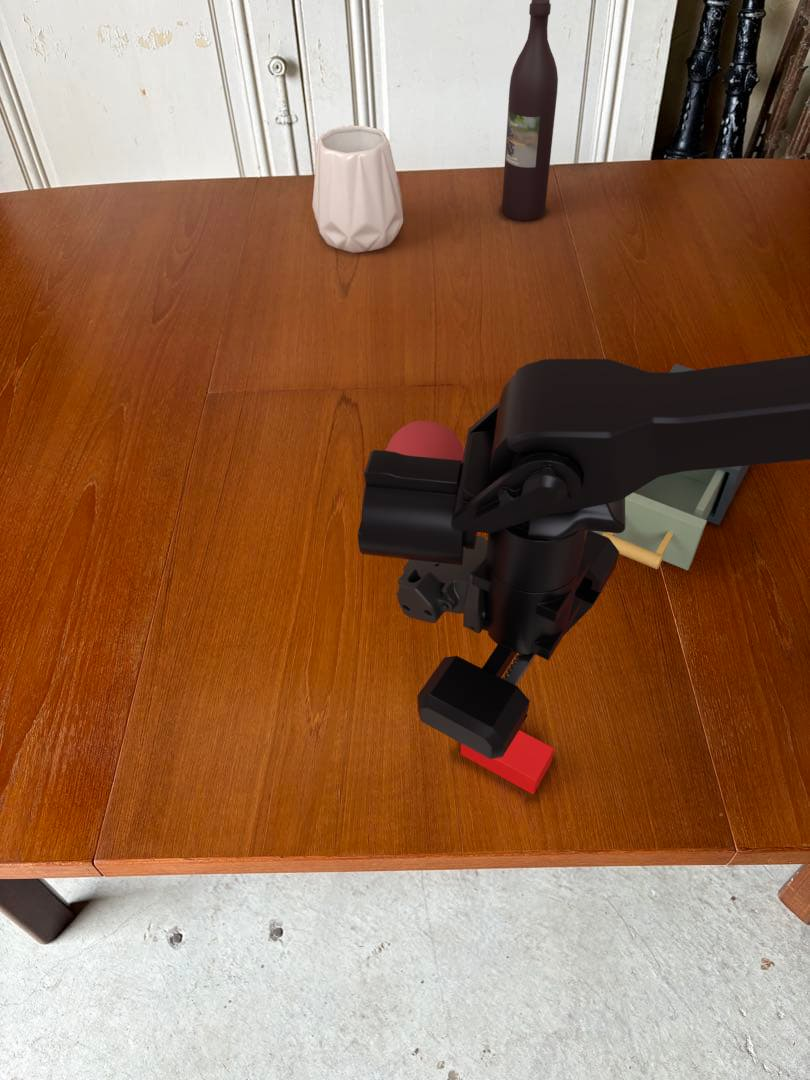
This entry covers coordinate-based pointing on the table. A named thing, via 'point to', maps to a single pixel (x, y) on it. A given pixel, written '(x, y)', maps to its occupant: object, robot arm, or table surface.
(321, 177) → the vase
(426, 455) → the lollipop
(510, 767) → the red rectangular block
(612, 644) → the table surface
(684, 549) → the drawer
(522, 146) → the wine bottle
